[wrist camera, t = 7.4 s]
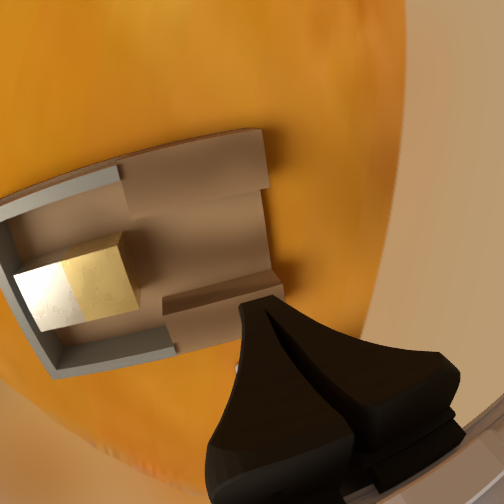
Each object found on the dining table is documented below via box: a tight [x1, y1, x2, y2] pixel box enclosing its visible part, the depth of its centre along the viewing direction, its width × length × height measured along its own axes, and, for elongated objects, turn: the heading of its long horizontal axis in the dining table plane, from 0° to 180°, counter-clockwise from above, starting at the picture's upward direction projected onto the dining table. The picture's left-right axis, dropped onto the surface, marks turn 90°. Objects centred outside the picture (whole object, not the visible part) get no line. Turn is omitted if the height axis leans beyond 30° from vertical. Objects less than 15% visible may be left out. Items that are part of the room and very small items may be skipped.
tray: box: [0, 162, 177, 380], centre depth 17 cm, size 12×10×2 cm
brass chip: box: [61, 231, 142, 322], centre depth 17 cm, size 4×4×2 cm
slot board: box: [0, 128, 285, 355], centre depth 18 cm, size 12×17×3 cm
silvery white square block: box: [14, 245, 86, 332], centre depth 16 cm, size 4×4×2 cm
